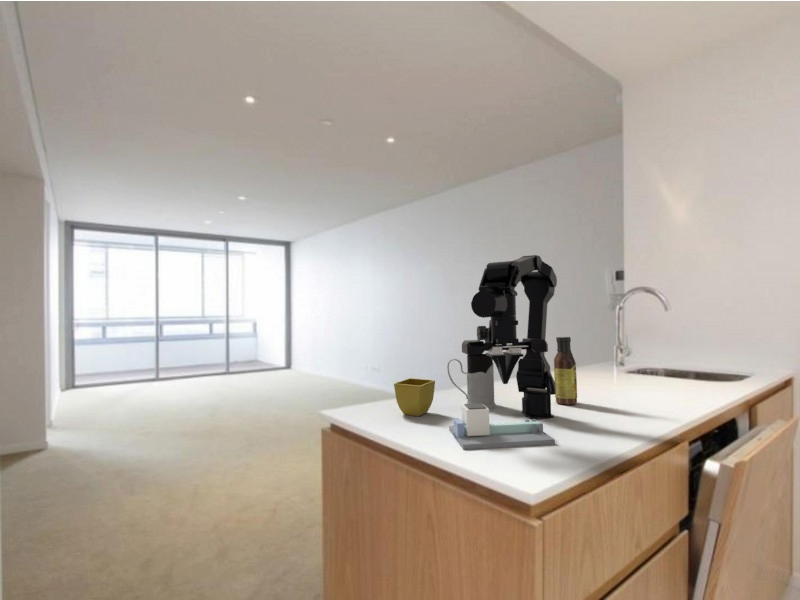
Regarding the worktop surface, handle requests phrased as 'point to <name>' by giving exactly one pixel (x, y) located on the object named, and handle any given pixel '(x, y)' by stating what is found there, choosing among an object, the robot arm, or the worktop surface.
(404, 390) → the flower pot
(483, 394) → the glass holder
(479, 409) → the sleeve
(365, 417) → the worktop surface
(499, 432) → the comb board
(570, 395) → the sauce bottle
